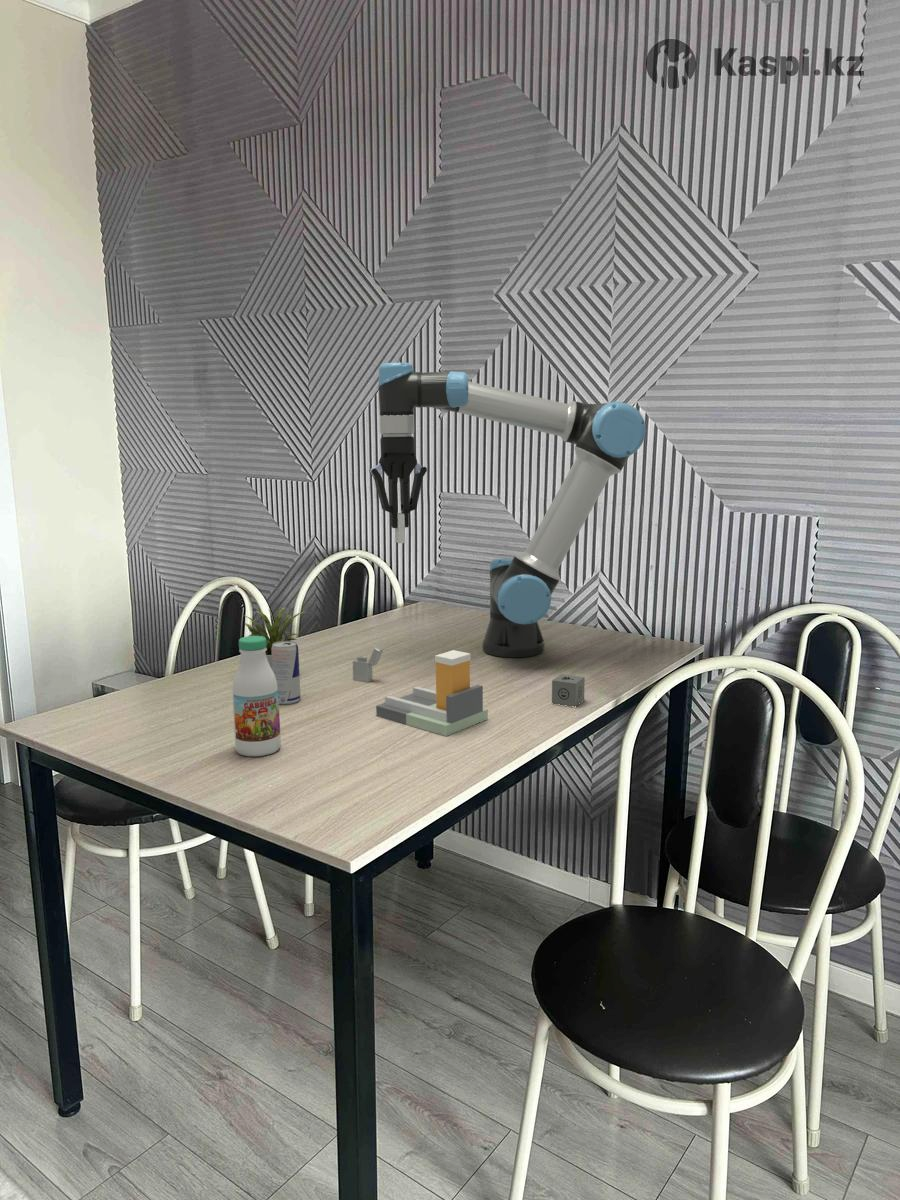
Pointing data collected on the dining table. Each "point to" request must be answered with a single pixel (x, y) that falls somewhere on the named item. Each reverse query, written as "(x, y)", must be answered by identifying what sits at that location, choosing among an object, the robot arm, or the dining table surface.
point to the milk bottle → (255, 701)
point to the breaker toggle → (451, 675)
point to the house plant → (272, 631)
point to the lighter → (366, 665)
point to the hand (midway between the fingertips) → (400, 542)
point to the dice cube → (568, 690)
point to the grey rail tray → (436, 710)
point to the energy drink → (286, 671)
